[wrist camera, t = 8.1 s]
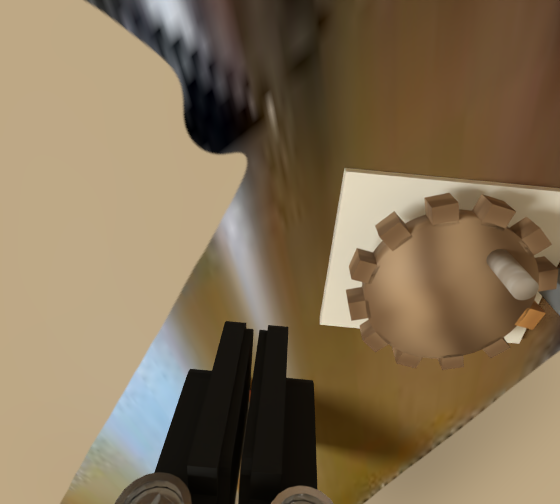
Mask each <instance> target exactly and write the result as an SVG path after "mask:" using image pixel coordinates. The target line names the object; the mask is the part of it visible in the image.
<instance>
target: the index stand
mask: <svg viewBox="0 0 560 504" xmlns="http://www.w3.org/2000/svg"><path fill="white" fill-rule="evenodd" d="M445 193H450V194H451V195H452V196H453V197H454V198H455V199H456V200H457V201H458V202H459V209H462V210H473V208H474V206H475V204H476V203H477V201H478V199H479V198H480V196H481V194H483V195H486V196H490V197H493V198H496V199H499V200H502V201H504V202H506V203H507V204H508V205H509V206H510V207H512V208H513V209H514V210H515V211H516V213H515V214H514V216H513V217H512V219H511V221H510V222H509V224H508V225H507V226H508V227H509V228H510V227H511V226H513V225H514V224H516V223H517V222H519V221H520V220H522V219H523V218H525V217H528V218H529V219H530V220H531V221H533V222H534V223H535V224H536V225H537V226H539V227H540V228H541V230H542V231H543V232H544V234H545V235H546V237H547V238H548V239H549V241H550V242H551V244H552V245H551V246H549V247H547V248H546V249H544V250H542V251H541V252H539V253H537V254H536V255H534V257H535V258H537V257H542V256H545V257H546V258H547V259H548V260H549V261H550V262H551V263H552V264H553V265H554V266H556V267H557V266H558V264H559V262H560V188H552V187H542V186H531V185H521V184H510V183H500V182H489V181H479V180H468V179H457V178H447V177H436V176H426V175H415V174H405V173H394V172H384V171H373V170H363V169H352V168H344V174H343V180H342V187H341V193H340V199H339V205H338V211H337V217H336V223H335V229H334V235H333V241H332V247H331V253H330V259H329V265H328V271H327V277H326V283H325V289H324V295H323V302H322V308H321V314H320V325H330V326H341V327H351V328H360V325H361V324H362V323H364V322H365V321H367V320H369V319H368V318H366V319H360V320H353V321H351V316H350V311H349V306H348V301H347V295H346V290H347V289H352V288H358V287H362V282H359V281H356V280H352V279H351V275H350V270H349V264H350V262H351V260H352V258H353V255H354V253H355V251H356V249H357V248H359V249H363V250H366V251H370V252H374V250H375V249H376V248H377V246H378V245H379V244H380V243H381V242H382V241H383V240H382V239H381V238H380V237H379V235H378V232H377V230H376V227H375V225H376V224H378V223H379V222H380V221H382V220H383V219H384V218H386V217H387V216H388V215H390V214H391V213H392V212H394V211H395V212H396V214H397V215H398V216H399V217H400V218H401V219H402V220H403V222H404V223H407V222H409V221H411V220H413V219H415V218H417V217H420V216H422V215H425V200H424V198H425V197H430V196H435V195H440V194H445ZM542 296H543V298H544V299H545V300H546V301H547V302H548V303H549V304H550V305H551V306H552V308H553V309H554V310H555V311H556V312H557V313H558V314H559V315H560V268H558V278H557V288H556V289H552V290H546V291H539V292H537V294H536V297H535V301H536V302H537V304H539V302H540V300H541V298H542ZM526 329H527V328H524V327H520V326H516V327H515V328H514V329H513V330H512V331H511V332H510V333H509V334H507V335H506V336H505V337H504V339H505V340H506V342H508V343H518V344H519V343H520V341H521V339H522V337H523V335H524V333H525V331H526Z"/></svg>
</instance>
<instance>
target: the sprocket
mask: <svg viewBox="0 0 560 504" xmlns="http://www.w3.org/2000/svg"><path fill="white" fill-rule="evenodd" d="M424 200H425V215H422V216H420V217H417V218H415V219H413V220H411V221H409V222H407V223H404V222H403V220H402V219H401V218H400V217H399V216H398V215H397V214H396V212H395V211H394V212H392V213H391V214H390V215H388V216H387V217H386V218H384V219H383V220H382V221H380V222H379V223H378V224H376V225H375V227H376V230H377V232H378V235H379V237H380V238H381V239H382V240H383V241H382V242H381V243H380V244H379V245H378V246H377V248H376V249H375V250H374V252H370V251H366V250H363V249H359V248H357V249H356V251H355V253H354V255H353V258H352V260H351V262H350V264H349V270H350V275H351V279H352V280H356V281H359V282H362V287H358V288H352V289H347V290H346V295H347V301H348V306H349V311H350V316H351V321H353V320H360V319H366V318H368V319H369V320H367V321H365V322H364V323H362V324H361V325H360V330H361V335H362V340H363V341H364V342H365V343H366V344H367V345H368V346H369V347H370V348H371V349H372V350H373V351H375V352H377V351H378V350H380V349H382V348H383V347H385V346H387V345H388V344H389V345H390V346H392V349H393V352H394V356H395V359H396V363H397V364H401V365H405V366H408V367H412V368H416V367H417V365H418V364H419V362H420V361H421V359H422V358H423V357H424V358H438V361H439V363H440V366H441V368H442V370H445V369H452V368H460V367H464V364H463V355H467V354H470V353H473V352H476V351H479V350H481V349H483V350H484V351H485V352H486V354H487V355H488V356H489V357H490V358H492V357H494V356H496V355H498V354H500V353H502V352H504V351H505V350H507V349H509V348H510V346H509V345H508V343H507V342H506V340H505V339H504V337H505V336H506V335H507V334H509V333H510V332H511V331H512V330H513V329H514V328H515V327H516V326H520V327H524V328H528V329H531V330H533V329H534V327H535V326H536V325H537V323H538V322H539V321H540V320H541V318H542V317H543V316H544V315H545V312H544V311H543V309H542V308H541V307H540V306H539V305H538V304H537V302H536V301H535V297H536V294H537V292H539V291H546V290H552V289H556V288H557V278H558V268H557V267H556V266H554V265H553V264H552V263H551V262H550V261H549V260H548V259H547V258H546V257H545V256H542V257H537V258H535V257H534V255H536V254H537V253H539V252H541V251H542V250H544V249H546V248H547V247H549V246H551V245H552V244H551V242H550V241H549V239H548V238H547V237H546V235H545V234H544V232H543V231H542V230H541V228H540V227H539V226H537V225H536V224H535V223H534V222H533V221H531V220H530V219H529V218H528V217H525V218H523V219H522V220H520V221H519V222H517V223H516V224H514V225H513V226H511V227H510V228H509V227H508V226H507V225H508V224H509V222H510V221H511V219H512V217H513V216H514V214H515V213H516V211H515V210H514V209H513V208H512V207H510V206H509V205H508V204H507V203H506V202H504V201H502V200H499V199H496V198H493V197H490V196H486V195H483V194H481V196H480V198H479V199H478V201H477V203H476V204H475V206H474V208H473V210H462V209H459V202H458V201H457V200H456V199H455V198H454V197H453V196H452V195H451V194H450V193H445V194H440V195H435V196H430V197H425V198H424Z"/></svg>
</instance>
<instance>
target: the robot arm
mask: <svg viewBox="0 0 560 504" xmlns="http://www.w3.org/2000/svg"><path fill="white" fill-rule="evenodd" d="M287 346H288V327H283V326H272V325H268V331H266V330H260V331H259V338H258V345H257V352H256V359H255V366H254V373H253V380H252V387H251V395H250V380H251V364H252V347H253V329H246V323H240V322H229V321H226V322H225V324H224V328H223V332H222V336H221V339H220V343H219V347H218V351H217V355H216V358H215V362H214V366H213V370H212V371H208V370H197V369H190V370H189V372H188V374H187V377H186V380H185V383H184V386H183V389H182V392H181V395H180V398H179V401H178V404H177V407H176V410H175V413H174V416H173V419H172V422H171V425H170V428H169V431H168V434H167V437H166V440H165V443H164V446H163V449H162V452H161V455H160V458H159V461H158V464H157V467H156V470H155V473H152V474H147V475H145V476H143V477H141V478H139V479H137V480H135V481H133V482H132V483H131V484H130V485H129V486H128V487H126V488H125V489H124V490H123V492H122V493H121V495H120V496H119V497H118V499H117V500H116V502H115V504H235V500H236V493H237V486H238V479H239V472H240V480H239V500H238V504H333V502H332V501H331V499H329V498H328V497H327V496H326V495H325V494H323V493H322V492H321V491H319V490H317V465H316V435H315V405H314V383H313V380H303V379H293V378H286V368H287ZM249 397H250V402H249ZM248 408H249V409H248ZM247 415H248V416H247ZM246 422H247V423H246ZM245 429H246V430H245ZM244 436H245V437H244ZM243 443H244V444H243ZM241 458H242V459H241ZM240 465H241V467H240Z"/></svg>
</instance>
